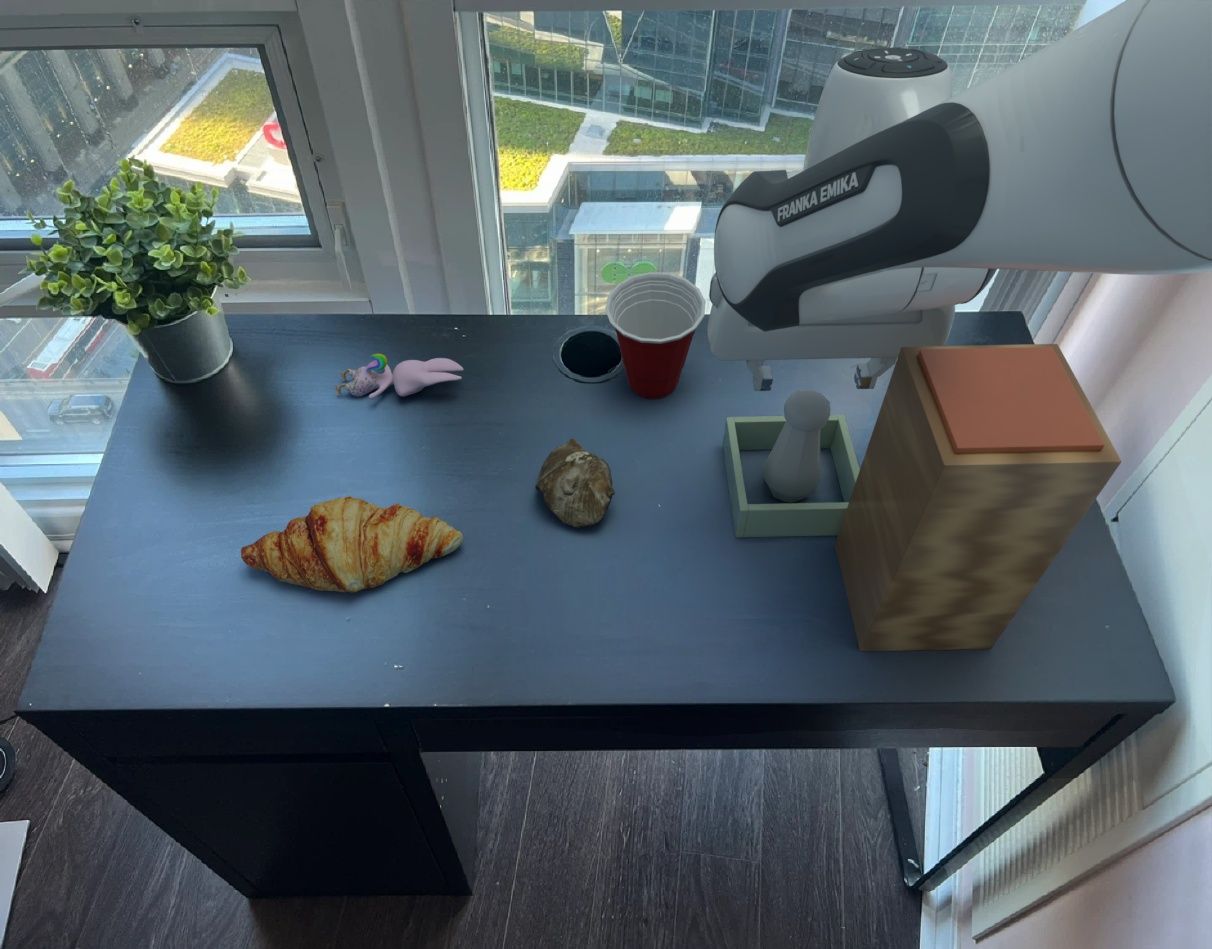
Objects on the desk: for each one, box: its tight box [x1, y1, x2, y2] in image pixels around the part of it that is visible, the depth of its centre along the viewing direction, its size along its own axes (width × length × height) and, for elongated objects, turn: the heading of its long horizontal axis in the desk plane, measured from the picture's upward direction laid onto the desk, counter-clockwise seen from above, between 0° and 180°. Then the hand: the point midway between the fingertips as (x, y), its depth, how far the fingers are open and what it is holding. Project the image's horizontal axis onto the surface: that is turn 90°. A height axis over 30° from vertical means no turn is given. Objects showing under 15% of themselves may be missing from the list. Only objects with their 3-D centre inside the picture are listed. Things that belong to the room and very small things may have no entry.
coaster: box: [918, 347, 1105, 453], centre depth 60 cm, size 10×10×1 cm
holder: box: [722, 414, 860, 538], centre depth 87 cm, size 13×13×4 cm
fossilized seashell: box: [534, 438, 616, 529], centre depth 87 cm, size 8×7×10 cm
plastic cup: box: [604, 271, 707, 400], centre depth 95 cm, size 11×11×12 cm
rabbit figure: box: [334, 353, 464, 400], centre depth 97 cm, size 6×6×15 cm
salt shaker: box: [763, 388, 831, 504], centre depth 84 cm, size 6×6×13 cm
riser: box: [834, 343, 1122, 652], centre depth 70 cm, size 12×12×26 cm
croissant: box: [240, 495, 464, 593], centre depth 82 cm, size 21×10×8 cm, turn 98°
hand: (812, 385), depth 77 cm, fingers open, 8 cm apart
